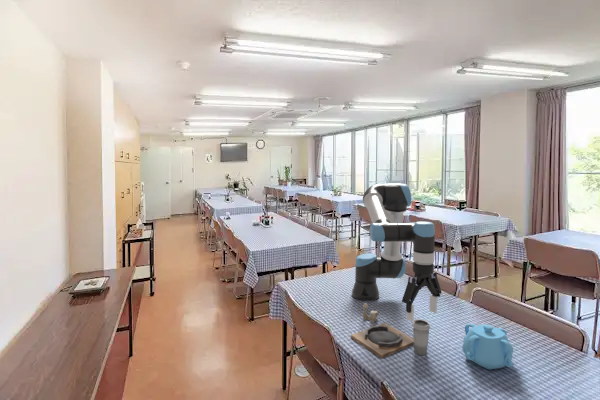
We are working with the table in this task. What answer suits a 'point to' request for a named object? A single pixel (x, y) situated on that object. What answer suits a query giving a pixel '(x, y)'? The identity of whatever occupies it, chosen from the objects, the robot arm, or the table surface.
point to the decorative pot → (487, 346)
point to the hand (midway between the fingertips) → (421, 315)
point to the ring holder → (383, 339)
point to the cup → (420, 336)
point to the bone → (372, 313)
